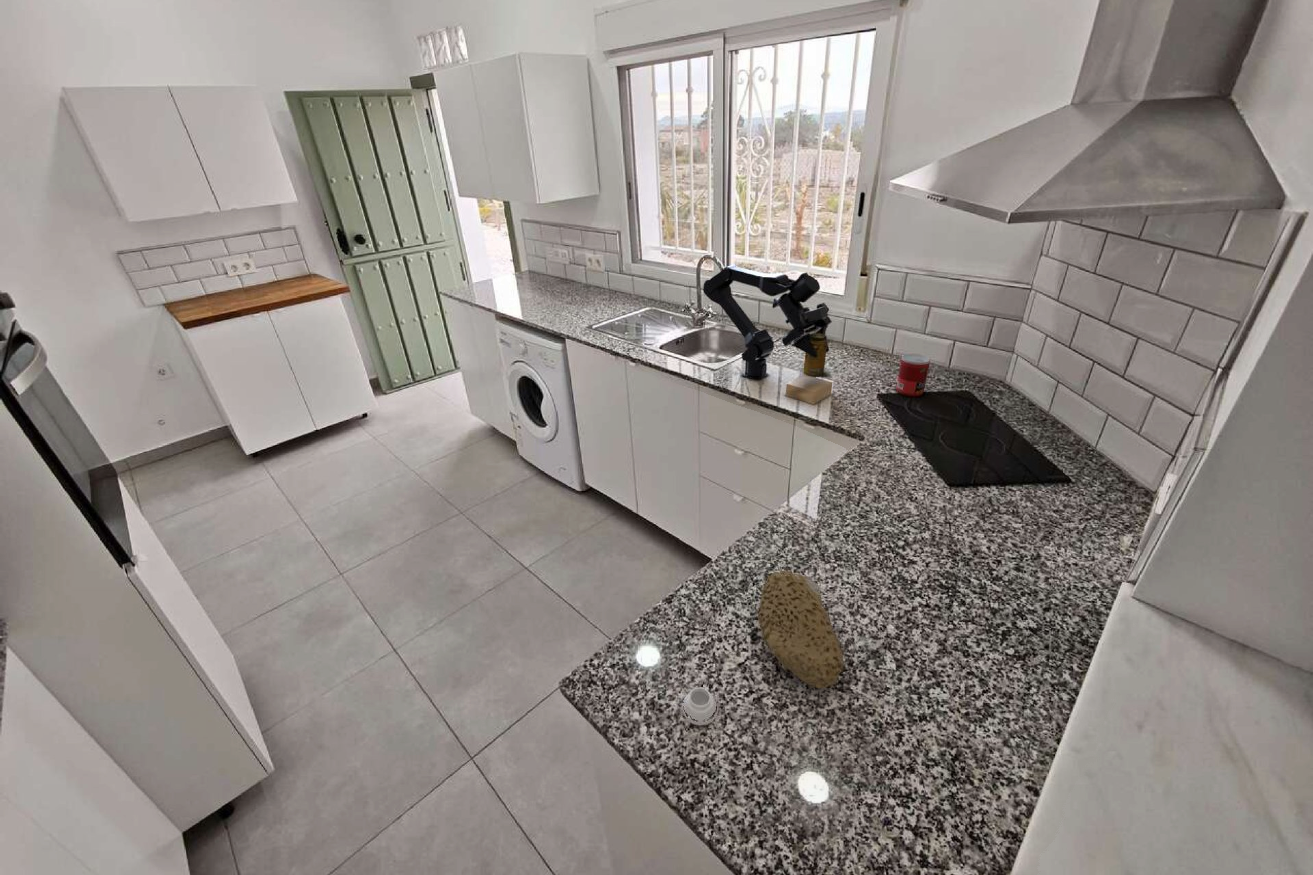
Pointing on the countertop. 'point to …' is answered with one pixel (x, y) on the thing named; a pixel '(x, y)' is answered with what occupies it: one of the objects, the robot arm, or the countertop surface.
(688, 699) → the white jar
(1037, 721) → the countertop surface
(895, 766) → the countertop surface
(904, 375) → the canned food
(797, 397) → the block
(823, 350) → the condiment
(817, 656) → the sponge
